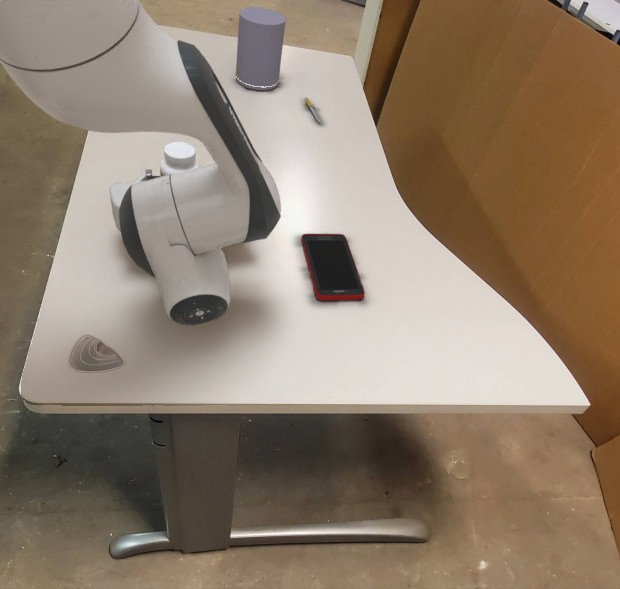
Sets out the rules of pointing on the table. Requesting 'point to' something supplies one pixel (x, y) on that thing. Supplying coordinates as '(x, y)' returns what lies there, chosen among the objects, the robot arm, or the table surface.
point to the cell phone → (332, 267)
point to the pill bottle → (178, 158)
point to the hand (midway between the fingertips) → (178, 173)
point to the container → (259, 47)
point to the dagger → (311, 108)
